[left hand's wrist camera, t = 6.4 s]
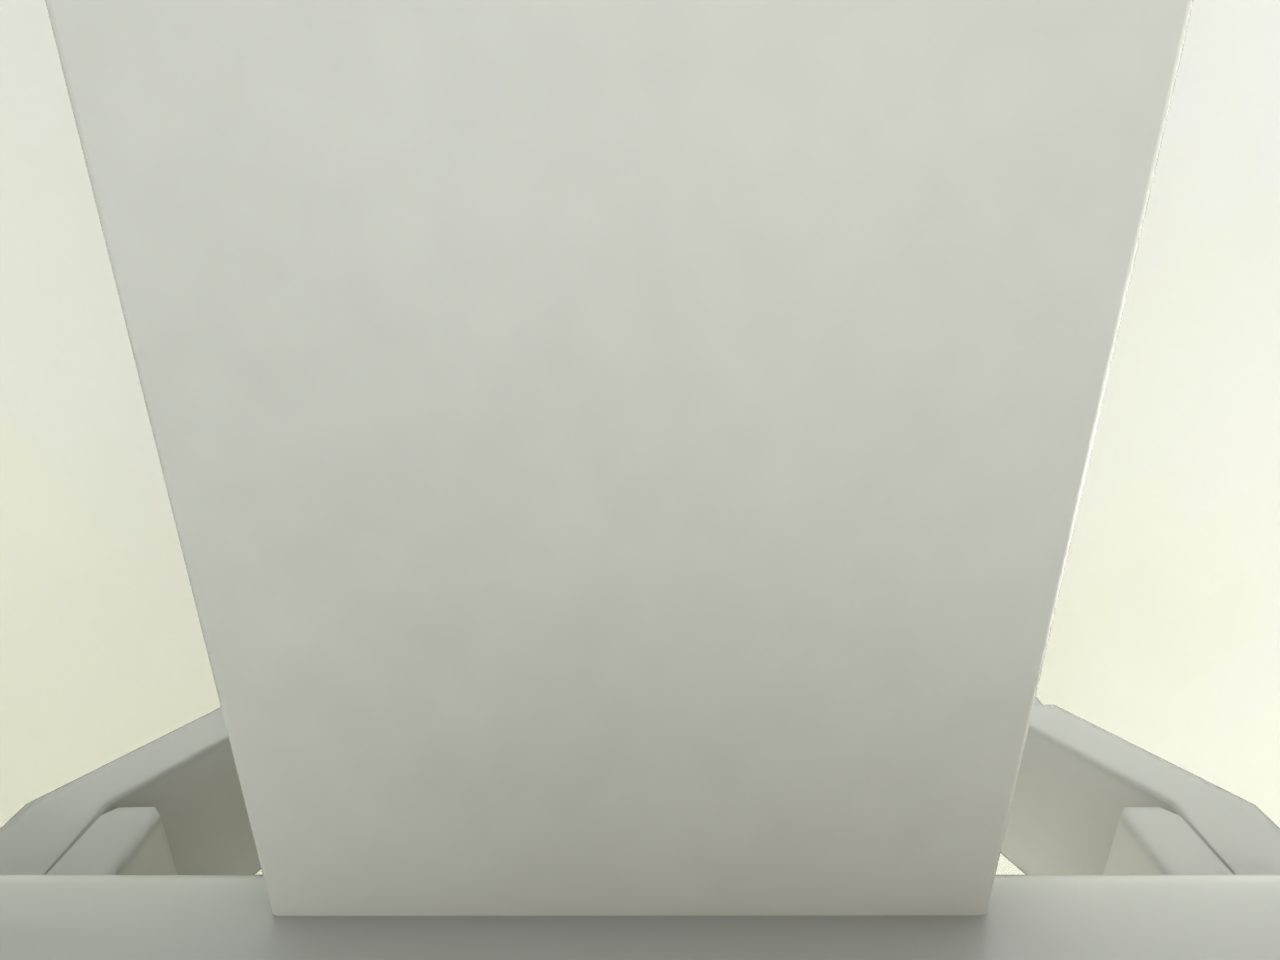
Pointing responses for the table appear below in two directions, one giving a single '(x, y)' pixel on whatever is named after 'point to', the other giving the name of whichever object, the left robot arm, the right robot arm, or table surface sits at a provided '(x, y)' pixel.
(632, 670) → the bar
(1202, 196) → the table surface
